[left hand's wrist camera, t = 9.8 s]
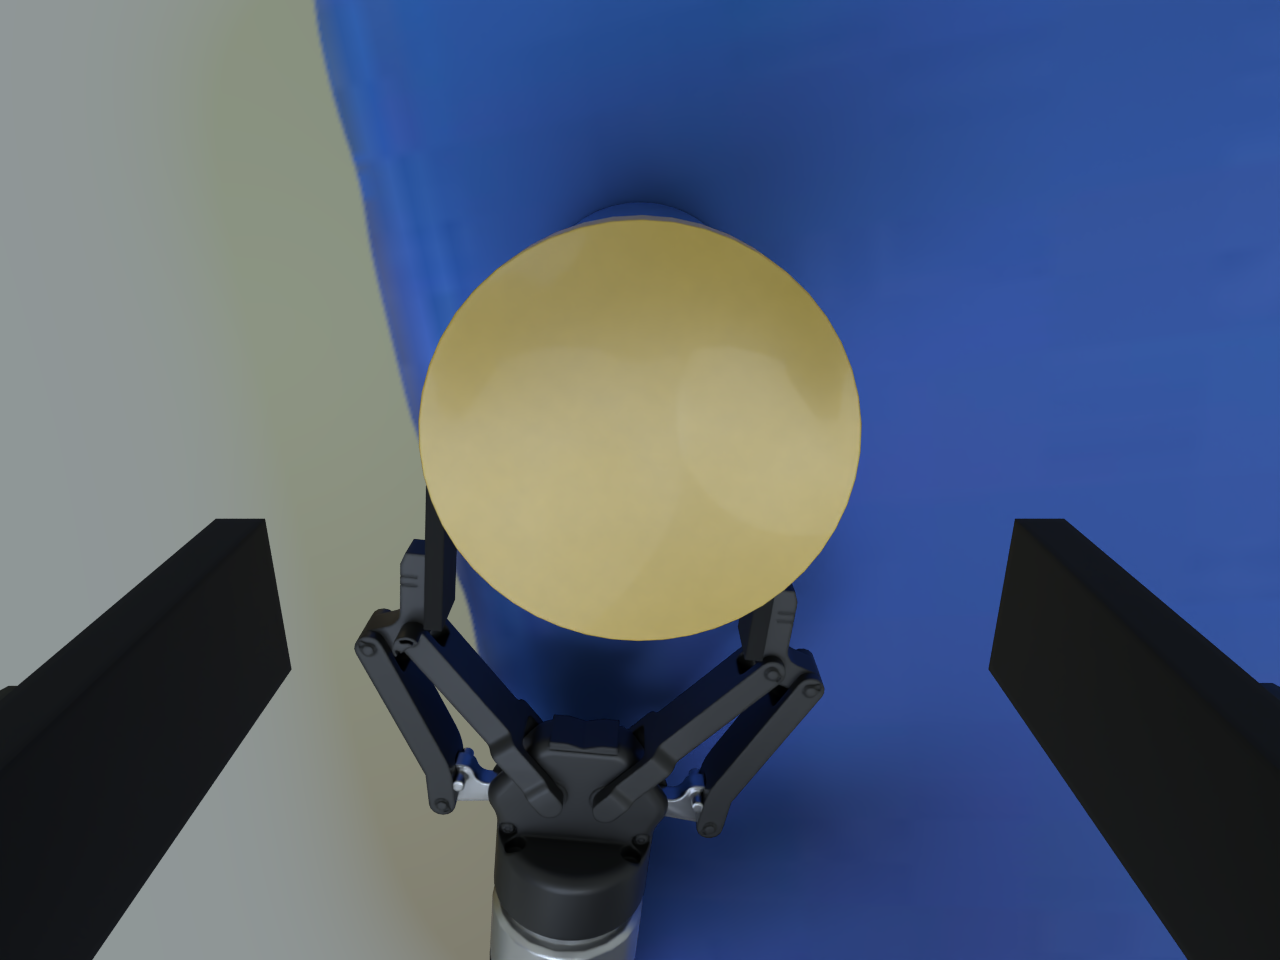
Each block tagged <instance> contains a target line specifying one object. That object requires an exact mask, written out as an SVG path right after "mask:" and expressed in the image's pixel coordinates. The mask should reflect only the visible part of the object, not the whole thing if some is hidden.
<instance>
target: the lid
mask: <svg viewBox="0 0 1280 960" xmlns="http://www.w3.org/2000/svg"><path fill="white" fill-rule="evenodd" d="M860 448H861V414H860V404H859V395H858V391H857V387H856V383H855V379H854V375H853V371H852V367H851V365H850V362H849V360H848V357H847V355H846V352H845V350H844V347H843V345H842V342H841V341H840V339H839V337H838V335H837V334H836V332H835V330H834V328H833V327H832V325H831V323H830V321H829V319H828V318H827V316H826V315H825V314H824V312H823V311H822V310H821V308H820V307H819V306H818V305H817V303H816V302H815V301H814V299H813V298H812V297H811V296H810V294H809V293H808V292H807V291H806V290H805V289H804V288H803V287H802V286H801V285H800V284H799V283H798V282H797V281H796V280H794V279H793V278H792V277H791V276H790V275H789V274H788V273H787V272H786V271H785V270H783V269H782V268H781V267H779V266H778V265H777V264H775V263H774V262H773V261H771V260H770V259H769V258H767V257H766V256H764V255H763V254H762V253H760V252H759V251H758V250H756V249H755V248H753V247H752V246H750V245H748V244H746V243H744V242H742V241H740V240H738V239H737V238H735V237H733V236H731V235H729V234H727V233H724V232H721V231H719V230H716V229H713V228H711V227H708V226H705V225H703V224H699V223H695V222H690V221H686V220H681V219H677V218H672V217H660V216H647V215H636V216H618V217H609V218H604V219H599V220H594V221H589V222H584V223H581V224H578V225H575V226H572V227H569V228H567V229H564V230H561V231H558V232H555V233H553V234H551V235H549V236H547V237H545V238H543V239H542V240H540V241H538V242H536V243H534V244H532V245H530V246H528V247H527V248H526V249H524V250H523V251H521V252H520V253H518V254H517V255H515V256H514V257H513V258H511V259H510V260H508V261H507V262H506V263H504V264H503V265H502V266H500V267H499V268H498V269H496V270H495V271H494V272H493V273H492V274H491V275H490V276H489V277H488V278H487V279H486V280H484V281H483V282H482V283H481V284H480V285H479V286H478V287H477V288H476V289H475V290H474V291H473V292H472V293H471V295H470V296H469V297H468V298H467V300H466V301H465V302H464V303H463V304H462V306H461V307H460V308H459V309H458V311H457V312H456V313H455V315H454V316H453V318H452V320H451V321H450V323H449V325H448V326H447V328H446V330H445V331H444V333H443V335H442V336H441V338H440V340H439V343H438V345H437V348H436V350H435V352H434V355H433V357H432V359H431V362H430V364H429V367H428V371H427V375H426V379H425V383H424V386H423V390H422V396H421V404H420V413H419V450H420V456H421V462H422V469H423V475H424V478H425V481H426V485H427V488H428V492H429V495H430V498H431V501H432V503H433V506H434V508H435V510H436V512H437V515H438V517H439V519H440V521H441V523H442V525H443V527H444V529H445V530H446V532H447V534H448V535H449V537H450V538H451V540H452V542H453V543H454V545H455V547H456V548H457V549H458V551H459V552H460V553H461V554H462V556H463V557H464V558H465V559H466V560H467V562H468V563H469V564H470V565H471V567H472V568H473V569H474V570H475V571H476V572H477V573H478V574H479V575H480V576H481V577H482V578H483V579H484V580H485V581H486V582H487V583H488V584H490V585H491V586H492V587H493V588H494V589H495V590H497V591H498V592H499V593H501V594H502V595H503V596H505V597H506V598H507V599H509V600H510V601H511V602H513V603H514V604H516V605H518V606H519V607H521V608H523V609H525V610H526V611H528V612H530V613H531V614H533V615H535V616H537V617H539V618H541V619H544V620H546V621H548V622H551V623H553V624H555V625H557V626H560V627H563V628H566V629H569V630H573V631H576V632H579V633H583V634H586V635H592V636H597V637H603V638H608V639H618V640H633V641H645V640H665V639H671V638H677V637H683V636H689V635H693V634H697V633H700V632H704V631H707V630H711V629H714V628H717V627H720V626H722V625H725V624H727V623H729V622H732V621H734V620H737V619H739V618H741V617H743V616H745V615H747V614H748V613H750V612H752V611H754V610H756V609H757V608H759V607H761V606H763V605H764V604H766V603H767V602H768V601H770V600H771V599H772V598H774V597H775V596H777V595H778V594H779V593H781V592H782V591H784V590H785V589H786V588H787V587H788V586H789V585H790V584H791V583H792V582H793V581H795V580H796V579H797V578H798V577H799V576H800V575H801V574H802V573H803V572H804V571H805V570H806V569H807V568H808V566H809V565H810V564H811V563H812V562H813V560H814V559H815V558H816V557H817V556H818V554H819V553H820V552H821V551H822V549H823V548H824V546H825V545H826V543H827V541H828V540H829V538H830V537H831V535H832V534H833V532H834V531H835V529H836V527H837V525H838V523H839V521H840V519H841V517H842V514H843V512H844V510H845V508H846V506H847V504H848V501H849V497H850V494H851V491H852V488H853V485H854V482H855V479H856V473H857V468H858V462H859V457H860Z"/></svg>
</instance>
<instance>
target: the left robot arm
mask: <svg viewBox="0 0 1280 960" xmlns="http://www.w3.org/2000/svg"><path fill="white" fill-rule="evenodd" d="M290 671H291V664H290V658H289V653H288V647H287V641H286V635H285V630H284V624H283V618H282V613H281V607H280V601H279V596H278V590H277V584H276V579H275V573H274V567H273V562H272V556H271V550H270V545H269V539H268V533H267V528H266V522H265V519H215V520H214V521H213V522H211V523H210V524H209V525H208V526H207V527H206V528H204V529H203V530H202V531H201V532H200V533H198V534H197V535H196V536H195V537H194V538H193V539H191V540H190V541H189V542H188V543H187V544H185V545H184V546H183V547H182V548H181V549H179V550H178V551H177V552H176V553H175V554H174V555H172V556H171V557H170V558H169V559H168V560H166V561H165V562H164V563H163V564H162V565H161V566H159V567H158V568H157V569H156V570H155V571H153V572H152V573H151V574H150V575H149V576H147V577H146V578H145V579H144V580H143V581H141V582H140V583H139V584H138V585H137V586H136V587H134V588H133V589H132V590H131V591H130V592H128V593H127V594H126V595H125V596H124V597H122V598H121V599H120V600H119V601H118V602H117V603H115V604H114V605H113V606H112V607H111V608H109V609H108V610H107V611H106V612H105V613H103V614H102V615H101V616H100V617H99V618H98V619H96V620H95V621H94V622H93V623H92V624H90V625H89V626H88V627H87V628H86V629H85V630H83V631H82V632H81V633H80V634H79V635H77V636H76V637H75V638H74V639H73V640H71V641H70V642H69V643H68V644H67V645H66V646H64V647H63V648H62V649H61V650H60V651H58V652H57V653H56V654H55V655H54V656H52V657H51V658H50V659H49V660H48V661H47V662H45V663H44V664H43V665H42V666H41V667H39V668H38V669H37V670H36V671H35V672H34V673H32V674H31V675H30V676H29V677H28V678H26V679H25V680H24V681H23V682H22V683H20V684H19V685H18V686H8V687H6V688H4V689H2V690H0V960H92V959H93V958H94V956H95V955H96V954H97V952H98V951H99V949H100V948H101V946H102V945H103V943H104V942H105V940H106V939H107V937H108V936H109V935H110V933H111V932H112V930H113V929H114V927H115V926H116V924H117V923H118V921H119V920H120V918H121V917H122V916H123V914H124V913H125V911H126V910H127V908H128V907H129V905H130V904H131V902H132V901H133V900H134V898H135V897H136V895H137V894H138V892H139V891H140V889H141V888H142V886H143V885H144V884H145V882H146V881H147V879H148V878H149V876H150V875H151V873H152V872H153V870H154V869H155V868H156V866H157V865H158V863H159V862H160V860H161V859H162V857H163V856H164V854H165V853H166V851H167V850H168V849H169V847H170V846H171V844H172V843H173V841H174V840H175V838H176V837H177V835H178V834H179V833H180V831H181V830H182V828H183V827H184V825H185V824H186V822H187V821H188V819H189V818H190V816H191V815H192V813H193V812H194V811H195V809H196V808H197V806H198V805H199V803H200V802H201V800H202V799H203V798H204V796H205V795H206V793H207V792H208V790H209V789H210V787H211V786H212V784H213V783H214V781H215V780H216V779H217V777H218V776H219V774H220V773H221V771H222V770H223V768H224V767H225V765H226V764H227V762H228V761H229V760H230V758H231V757H232V755H233V754H234V752H235V751H236V749H237V748H238V747H239V745H240V744H241V742H242V741H243V739H244V738H245V736H246V735H247V733H248V732H249V730H250V729H251V728H252V726H253V725H254V723H255V722H256V720H257V719H258V717H259V716H260V714H261V713H262V712H263V710H264V709H265V707H266V706H267V704H268V703H269V701H270V700H271V698H272V697H273V696H274V694H275V693H276V691H277V690H278V688H279V687H280V685H281V684H282V682H283V681H284V680H285V678H286V677H287V675H288V674H289V672H290ZM989 671H990V672H991V674H992V675H993V677H994V678H995V680H996V681H997V682H998V684H999V685H1000V687H1001V688H1002V690H1003V691H1004V693H1005V694H1006V696H1007V697H1008V698H1009V700H1010V701H1011V703H1012V704H1013V706H1014V707H1015V709H1016V710H1017V712H1018V713H1019V714H1020V716H1021V717H1022V719H1023V720H1024V722H1025V723H1026V725H1027V726H1028V728H1029V729H1030V731H1031V732H1032V733H1033V735H1034V736H1035V738H1036V739H1037V741H1038V742H1039V744H1040V745H1041V747H1042V748H1043V749H1044V751H1045V752H1046V754H1047V755H1048V757H1049V758H1050V760H1051V761H1052V763H1053V764H1054V766H1055V767H1056V768H1057V770H1058V771H1059V773H1060V774H1061V776H1062V777H1063V779H1064V780H1065V782H1066V783H1067V784H1068V786H1069V787H1070V789H1071V790H1072V792H1073V793H1074V795H1075V796H1076V798H1077V799H1078V800H1079V802H1080V803H1081V805H1082V806H1083V808H1084V809H1085V811H1086V812H1087V814H1088V815H1089V817H1090V818H1091V819H1092V821H1093V822H1094V824H1095V825H1096V827H1097V828H1098V830H1099V831H1100V833H1101V834H1102V835H1103V837H1104V838H1105V840H1106V841H1107V843H1108V844H1109V846H1110V847H1111V849H1112V850H1113V851H1114V853H1115V854H1116V856H1117V857H1118V859H1119V860H1120V862H1121V863H1122V865H1123V866H1124V868H1125V869H1126V870H1127V872H1128V873H1129V875H1130V876H1131V878H1132V879H1133V881H1134V882H1135V884H1136V885H1137V886H1138V888H1139V889H1140V891H1141V892H1142V894H1143V895H1144V897H1145V898H1146V900H1147V901H1148V903H1149V904H1150V905H1151V907H1152V908H1153V910H1154V911H1155V913H1156V914H1157V916H1158V917H1159V919H1160V920H1161V921H1162V923H1163V924H1164V926H1165V927H1166V929H1167V930H1168V932H1169V933H1170V935H1171V936H1172V937H1173V939H1174V940H1175V942H1176V943H1177V945H1178V946H1179V948H1180V949H1181V951H1182V952H1183V954H1184V955H1185V956H1186V958H1187V959H1188V960H1280V687H1279V686H1277V685H1275V684H1273V683H1258V682H1257V681H1256V680H1255V679H1254V678H1252V677H1251V676H1250V675H1249V674H1248V673H1247V672H1245V671H1244V670H1243V669H1242V668H1241V667H1239V666H1238V665H1237V664H1236V663H1235V662H1233V661H1232V660H1231V659H1230V658H1229V657H1228V656H1226V655H1225V654H1224V653H1223V652H1222V651H1220V650H1219V649H1218V648H1217V647H1216V646H1214V645H1213V644H1212V643H1211V642H1210V641H1209V640H1207V639H1206V638H1205V637H1204V636H1203V635H1201V634H1200V633H1199V632H1198V631H1197V630H1196V629H1194V628H1193V627H1192V626H1191V625H1190V624H1188V623H1187V622H1186V621H1185V620H1184V619H1182V618H1181V617H1180V616H1179V615H1178V614H1177V613H1175V612H1174V611H1173V610H1172V609H1171V608H1169V607H1168V606H1167V605H1166V604H1165V603H1163V602H1162V601H1161V600H1160V599H1159V598H1158V597H1156V596H1155V595H1154V594H1153V593H1152V592H1150V591H1149V590H1148V589H1147V588H1146V587H1144V586H1143V585H1142V584H1141V583H1140V582H1139V581H1137V580H1136V579H1135V578H1134V577H1133V576H1131V575H1130V574H1129V573H1128V572H1127V571H1125V570H1124V569H1123V568H1122V567H1121V566H1120V565H1118V564H1117V563H1116V562H1115V561H1114V560H1112V559H1111V558H1110V557H1109V556H1108V555H1107V554H1105V553H1104V552H1103V551H1102V550H1101V549H1099V548H1098V547H1097V546H1096V545H1095V544H1093V543H1092V542H1091V541H1090V540H1089V539H1088V538H1086V537H1085V536H1084V535H1083V534H1082V533H1080V532H1079V531H1078V530H1077V529H1076V528H1074V527H1073V526H1072V525H1071V524H1070V523H1069V522H1067V521H1066V520H1065V519H1015V522H1014V528H1013V533H1012V539H1011V545H1010V550H1009V556H1008V562H1007V567H1006V573H1005V579H1004V584H1003V590H1002V596H1001V601H1000V607H999V613H998V618H997V624H996V630H995V635H994V641H993V647H992V652H991V658H990V664H989Z"/></svg>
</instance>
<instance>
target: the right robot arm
mask: <svg viewBox="0 0 1280 960" xmlns="http://www.w3.org/2000/svg"><path fill="white" fill-rule="evenodd" d="M456 551H457V548H456V547H455V545H454V543H453V542H452V540H451V538H450V537H449V535H448V534H447V532H446V530H445V529H444V527H443V525H442V523H441V521H440V519H439V517H438V515H437V512H436V510H435V508H434V506H433V503H432V501H431V498H430V495H429V492H428V488H427V485H426V521H425V540H419V539H414V540H413V541H412V543H411V545H410V546H409V548H408V550H407V552H406V553H405V555H404V557H403V559H402V562H401V564H400V575H401V577H400V584H401V585H400V609H398V610H395V611H391V610H388V609H378V610H377V611H375V612H374V613H373V615H372V616H371V618H370V620H369V621H368V623H367V625H366V626H365V628H364V630H363V631H362V633H361V635H360V636H359V638H358V640H357V642H356V643H355V648H354V649H355V652H356V654H357V656H358V658H359V660H360V661H361V663H362V665H363V667H364V668H365V670H366V672H367V673H368V675H369V677H370V679H371V681H372V682H373V684H374V686H375V688H376V689H377V691H378V693H379V695H380V696H381V698H382V700H383V702H384V703H385V705H386V707H387V708H388V710H389V712H390V714H391V715H392V717H393V719H394V721H395V722H396V724H397V726H398V728H399V729H400V731H401V733H402V735H403V736H404V738H405V740H406V742H407V743H408V745H409V747H410V749H411V750H412V752H413V754H414V756H415V757H416V759H417V761H418V763H419V764H420V766H421V768H422V770H423V771H424V773H425V775H426V782H427V790H428V799H429V805H430V808H431V809H432V810H433V811H434V812H436V813H438V814H443V815H444V814H449V813H451V812H452V811H453V810H454V808H455V805H456V802H457V800H489V801H490V804H491V805H492V807H493V808H494V810H495V812H496V815H497V837H496V854H495V870H494V884H495V886H494V891H493V900H492V921H491V947H490V960H634V959H635V954H636V947H637V939H638V932H639V925H640V918H641V910H642V902H643V894H644V890H645V884H646V877H647V870H648V863H649V857H650V850H651V843H652V836H653V832H654V829H655V827H656V826H657V825H658V823H659V822H660V821H661V820H662V819H663V818H664V816H668V817H673V818H679V819H685V820H690V821H696V826H697V831H698V833H699V834H700V835H701V836H703V837H706V838H712V837H716V836H717V835H719V834H720V833H721V831H722V829H723V826H724V823H725V820H726V817H727V814H728V811H729V808H730V805H731V802H732V801H733V800H734V799H735V797H736V796H737V795H738V794H739V793H740V792H741V790H742V789H743V788H744V787H745V786H746V785H747V783H748V782H749V781H750V780H751V779H752V778H753V776H754V775H755V774H756V773H757V772H758V771H759V769H760V768H761V767H762V766H763V765H764V764H765V762H766V761H767V760H768V759H769V758H770V757H771V755H772V754H773V753H774V752H775V751H776V750H777V748H778V747H779V746H780V745H781V744H782V743H783V741H784V740H785V739H786V738H787V737H788V736H789V734H790V733H791V732H792V731H793V730H794V729H795V727H796V726H797V725H798V724H799V723H800V722H801V720H802V719H803V718H804V717H805V716H806V715H807V714H808V712H809V711H810V710H811V709H812V708H813V707H814V705H815V704H816V703H817V702H818V701H819V700H820V698H821V697H822V696H823V694H824V686H823V683H822V680H821V677H820V674H819V671H818V668H817V666H816V663H815V660H814V657H813V655H812V653H811V652H810V651H809V650H806V649H797V650H795V649H793V648H791V647H789V642H790V637H791V632H792V627H793V622H794V617H795V612H796V607H797V598H796V594H795V591H794V588H793V585H792V583H791V584H790V585H789V586H788V587H787V588H786V589H785V590H784V591H782V592H781V593H779V594H778V595H777V596H775V597H774V598H772V599H771V600H770V601H768V602H767V603H766V604H764V605H763V606H761V607H759V608H757V609H756V610H754V611H752V612H750V613H748V614H747V615H745V616H743V617H741V618H739V624H738V629H739V634H740V639H741V643H742V647H741V648H739V649H738V650H737V651H736V652H734V653H733V654H732V655H730V656H729V657H728V658H727V659H725V660H724V661H723V662H722V663H720V664H719V665H718V666H716V667H715V668H714V669H713V670H711V671H710V672H709V673H708V674H706V675H705V676H704V677H702V678H701V679H700V680H699V681H697V682H696V683H695V684H694V685H692V686H691V687H690V688H688V689H687V690H686V691H685V692H683V693H682V694H681V695H680V696H678V697H677V698H676V699H674V700H673V701H672V702H671V703H669V704H668V705H667V706H666V707H664V708H663V709H662V710H660V711H659V712H654V711H652V712H650V713H648V714H647V715H646V716H644V717H643V718H642V719H641V720H639V721H638V722H637V723H636V724H634V725H633V726H632V727H630V728H629V729H626V728H624V727H622V726H619V720H609V719H600V720H592V721H584V720H581V719H578V718H575V717H571V716H564V715H554V717H553V720H548V721H545V722H543V721H542V720H541V718H540V717H539V716H538V715H537V714H536V713H535V712H534V710H533V709H532V708H531V707H530V706H529V705H528V703H527V702H526V701H525V700H523V699H520V700H518V699H516V698H515V696H514V695H513V694H512V693H511V692H510V691H509V690H508V688H507V687H506V686H505V685H504V684H503V683H502V681H501V680H500V679H499V678H498V677H497V676H496V675H495V673H494V672H493V671H492V670H491V669H490V668H489V666H488V665H487V664H486V663H485V662H484V661H483V660H482V658H481V657H480V656H479V655H478V654H477V653H476V652H475V650H474V649H473V648H472V647H471V646H470V645H469V643H468V642H467V641H466V640H465V639H464V638H463V637H462V635H461V634H460V633H459V632H458V631H457V630H456V628H455V627H454V626H453V625H452V624H451V623H450V622H449V620H448V619H447V617H448V615H449V612H450V610H451V608H452V605H453V603H454V601H455V581H456ZM434 685H435V686H436V687H437V689H438V690H439V691H440V692H441V693H442V694H443V695H444V696H445V697H446V698H447V700H448V701H449V702H450V703H451V704H452V705H453V706H454V707H455V708H456V710H457V711H458V712H459V713H460V714H461V715H462V716H463V717H464V718H465V719H466V721H467V722H468V723H469V724H470V725H471V726H472V727H473V728H474V729H475V731H476V732H477V733H478V734H479V735H480V736H481V737H482V738H483V739H484V741H485V742H486V743H487V744H488V746H489V748H490V753H491V756H492V758H493V759H494V761H495V762H496V763H497V765H496V766H495V767H494V769H493V770H486V769H484V768H482V767H481V766H480V765H479V764H478V762H477V759H476V758H475V757H474V756H473V755H474V751H473V750H472V749H471V748H464V749H463V743H462V739H461V736H460V733H459V731H458V729H457V727H456V724H455V723H454V721H453V719H452V717H451V715H450V713H449V712H448V710H447V708H446V706H445V704H444V702H443V701H442V699H441V697H440V695H439V693H438V691H437V689H436V688H435V686H434ZM739 714H740V715H739ZM738 715H739V716H738ZM737 716H738V718H737V719H736V720H735V721H734V722H733V724H732V725H731V726H730V727H729V728H728V730H727V731H726V732H725V733H724V735H723V736H722V737H721V738H720V739H719V741H718V742H717V743H716V744H715V745H714V747H713V748H712V749H711V751H710V752H709V753H708V755H707V756H706V758H705V760H704V762H703V763H702V766H701V769H700V770H699V769H697V768H694V769H691V770H690V771H689V775H688V776H687V777H686V778H685V779H684V781H683V782H682V783H681V784H680V785H678V786H674V787H668V786H667V783H666V781H665V778H667V777H668V776H669V775H670V774H671V773H672V771H673V769H674V767H675V765H676V763H677V762H678V761H679V760H680V759H681V758H683V757H684V756H685V755H687V754H688V753H689V752H691V751H692V750H693V749H694V748H696V747H697V746H698V745H700V744H701V743H702V742H704V741H705V740H706V739H708V738H709V737H710V736H712V735H713V734H714V733H716V732H717V731H718V730H719V729H721V728H722V727H723V726H725V725H726V724H727V723H729V722H730V721H731V720H733V719H734V718H735V717H737Z"/></svg>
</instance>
